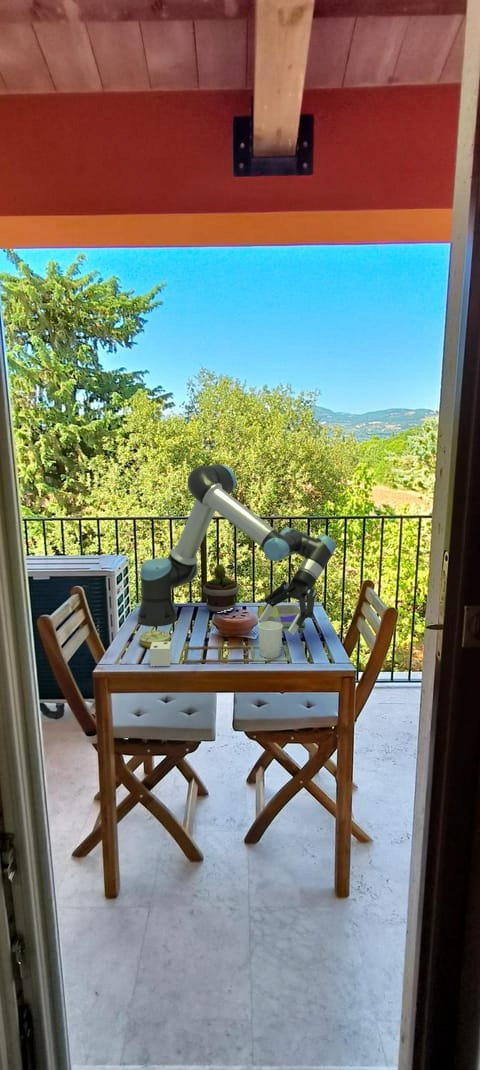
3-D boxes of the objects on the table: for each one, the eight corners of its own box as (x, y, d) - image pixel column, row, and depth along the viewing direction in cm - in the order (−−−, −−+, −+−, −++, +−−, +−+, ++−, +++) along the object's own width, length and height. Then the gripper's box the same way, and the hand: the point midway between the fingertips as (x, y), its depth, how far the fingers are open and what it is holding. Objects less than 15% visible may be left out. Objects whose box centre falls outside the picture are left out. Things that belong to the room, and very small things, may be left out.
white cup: (275, 661, 172) (275, 631, 170) (253, 655, 176) (253, 626, 174) (286, 652, 178) (286, 623, 176) (265, 647, 182) (265, 619, 180)
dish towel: (259, 631, 200) (259, 624, 199) (257, 610, 224) (257, 604, 223) (306, 631, 200) (306, 624, 199) (299, 610, 224) (299, 604, 223)
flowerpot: (240, 615, 216) (240, 567, 212) (202, 616, 215) (201, 567, 211) (238, 604, 230) (238, 559, 227) (202, 605, 229) (202, 559, 226)
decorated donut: (166, 636, 193) (165, 626, 192) (173, 647, 183) (173, 636, 183) (137, 640, 189) (136, 630, 189) (143, 651, 180) (142, 640, 179)
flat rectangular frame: (183, 662, 170) (183, 661, 170) (185, 648, 182) (185, 646, 182) (290, 661, 171) (290, 659, 171) (285, 647, 183) (285, 645, 183)
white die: (150, 667, 167) (149, 648, 166) (152, 659, 173) (152, 641, 171) (169, 667, 167) (169, 648, 166) (171, 659, 173) (171, 641, 172)
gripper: (341, 589, 176) (309, 643, 169) (285, 574, 194) (255, 623, 187) (331, 576, 172) (298, 631, 165) (275, 562, 190) (244, 612, 183)
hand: (275, 627), depth 176 cm, fingers open, 13 cm apart
